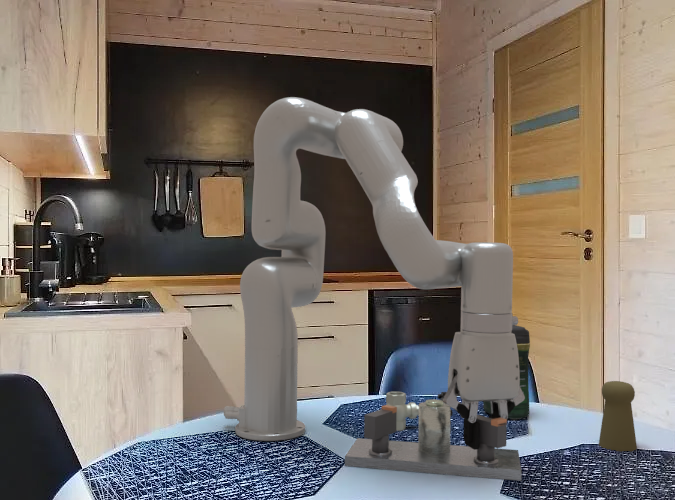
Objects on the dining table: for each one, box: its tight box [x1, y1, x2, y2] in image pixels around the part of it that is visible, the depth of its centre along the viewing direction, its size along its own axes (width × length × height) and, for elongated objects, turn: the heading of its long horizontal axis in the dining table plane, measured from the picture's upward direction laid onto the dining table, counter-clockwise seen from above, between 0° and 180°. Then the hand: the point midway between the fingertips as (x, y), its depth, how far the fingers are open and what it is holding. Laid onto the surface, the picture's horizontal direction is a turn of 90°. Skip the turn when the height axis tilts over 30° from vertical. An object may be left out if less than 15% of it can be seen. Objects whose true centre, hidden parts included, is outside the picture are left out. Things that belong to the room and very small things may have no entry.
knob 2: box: [476, 414, 508, 462], centre depth 98 cm, size 6×3×6 cm, turn 37°
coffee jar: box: [482, 325, 531, 420], centre depth 133 cm, size 10×8×19 cm
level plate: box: [344, 398, 522, 482], centre depth 102 cm, size 26×10×9 cm, turn 77°
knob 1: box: [363, 404, 397, 453], centre depth 102 cm, size 6×3×6 cm, turn 143°
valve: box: [385, 391, 453, 432], centre depth 123 cm, size 7×7×12 cm
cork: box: [598, 380, 638, 452], centre depth 112 cm, size 6×6×11 cm
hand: (483, 444), depth 99 cm, fingers closed on knob 2, 3 cm apart
